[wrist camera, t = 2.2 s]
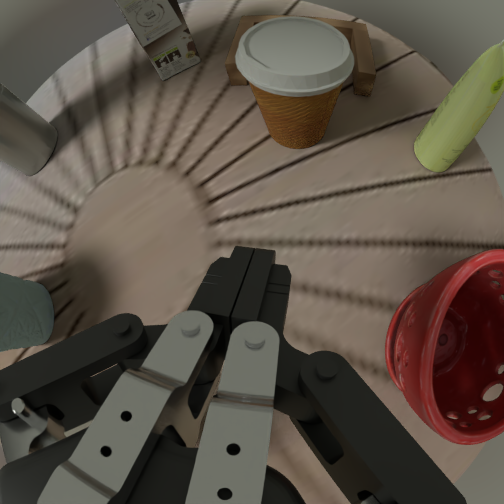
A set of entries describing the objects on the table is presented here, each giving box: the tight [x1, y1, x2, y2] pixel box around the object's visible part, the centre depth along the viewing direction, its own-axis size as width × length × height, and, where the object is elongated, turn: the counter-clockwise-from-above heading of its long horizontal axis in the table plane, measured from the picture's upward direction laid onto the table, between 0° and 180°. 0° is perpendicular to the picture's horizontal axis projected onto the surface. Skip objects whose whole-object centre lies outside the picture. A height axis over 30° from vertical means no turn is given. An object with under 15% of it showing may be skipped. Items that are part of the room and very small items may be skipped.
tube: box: [414, 40, 504, 172], centre depth 17 cm, size 6×5×20 cm
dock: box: [225, 15, 376, 97], centre depth 29 cm, size 17×12×4 cm
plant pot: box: [385, 249, 504, 445], centre depth 17 cm, size 13×13×12 cm
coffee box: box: [114, 0, 201, 81], centre depth 26 cm, size 9×6×16 cm
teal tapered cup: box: [0, 272, 54, 352], centre depth 23 cm, size 10×10×12 cm
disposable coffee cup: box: [235, 16, 354, 149], centre depth 23 cm, size 10×10×12 cm
